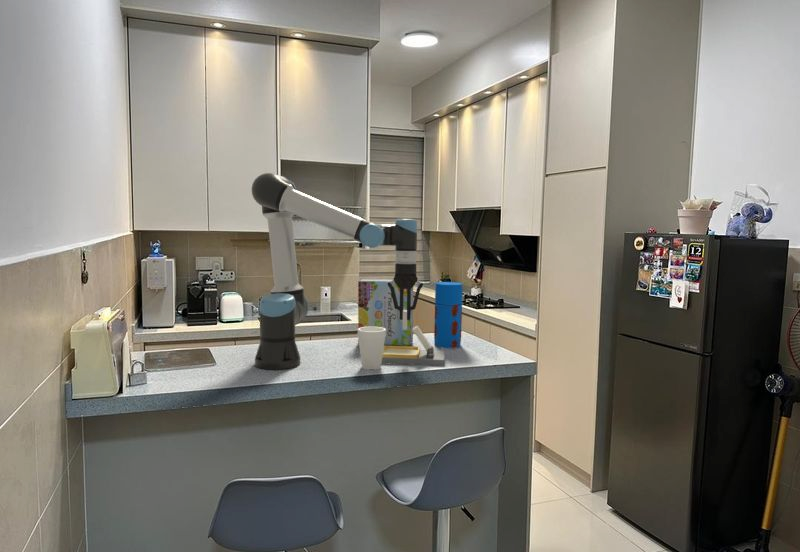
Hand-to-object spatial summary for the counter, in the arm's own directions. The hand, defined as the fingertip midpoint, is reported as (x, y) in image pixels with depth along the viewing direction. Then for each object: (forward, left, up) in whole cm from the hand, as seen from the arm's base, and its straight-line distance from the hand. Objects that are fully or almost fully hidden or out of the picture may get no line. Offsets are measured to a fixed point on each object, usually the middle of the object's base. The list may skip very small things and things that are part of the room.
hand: (404, 328), depth 192 cm
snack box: (-9, +25, -11) cm, 29 cm away
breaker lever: (+10, 0, -8) cm, 13 cm away
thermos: (+16, +25, -11) cm, 32 cm away
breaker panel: (+1, 0, -11) cm, 11 cm away
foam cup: (-10, -12, -11) cm, 20 cm away
